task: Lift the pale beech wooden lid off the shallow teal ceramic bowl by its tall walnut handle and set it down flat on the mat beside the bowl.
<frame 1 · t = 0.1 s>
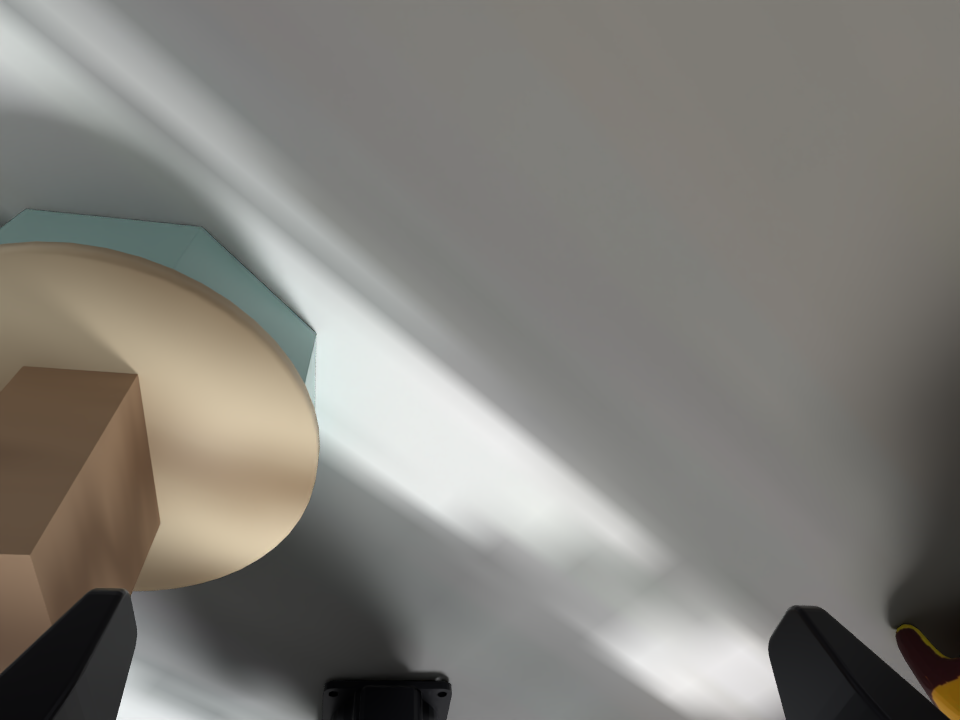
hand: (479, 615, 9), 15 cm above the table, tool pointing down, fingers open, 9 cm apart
bowl: (139, 380, 24), on the table
lid: (107, 434, 21), point 3 cm above the table, touching bowl
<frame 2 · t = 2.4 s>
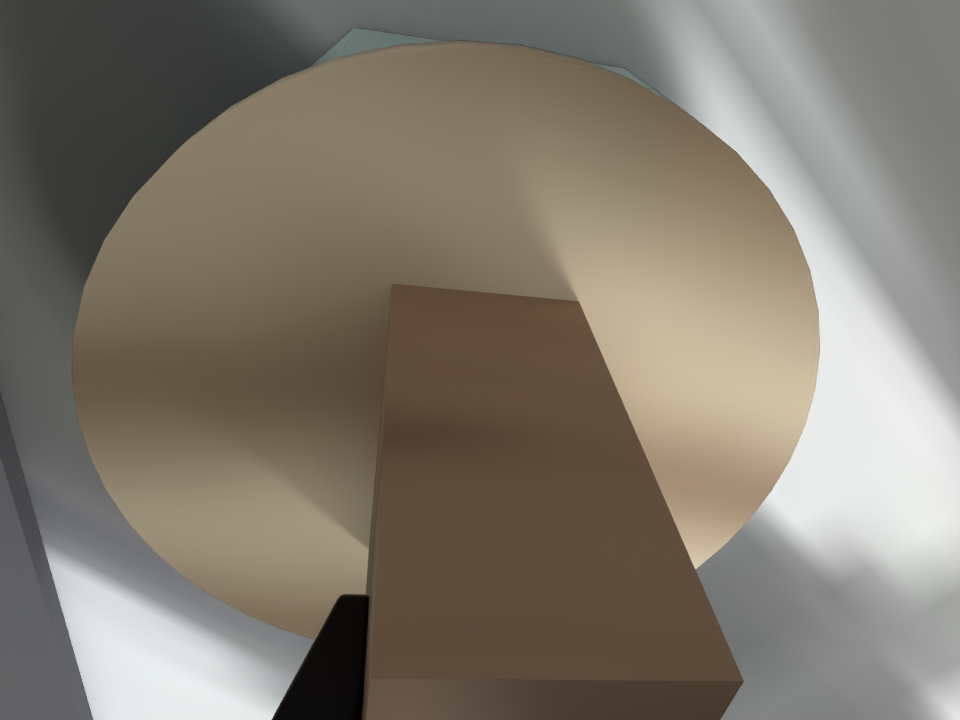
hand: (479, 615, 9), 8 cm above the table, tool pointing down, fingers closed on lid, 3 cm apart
bowl: (451, 332, 15), on the table
lid: (459, 412, 13), point 3 cm above the table, touching bowl, gripper
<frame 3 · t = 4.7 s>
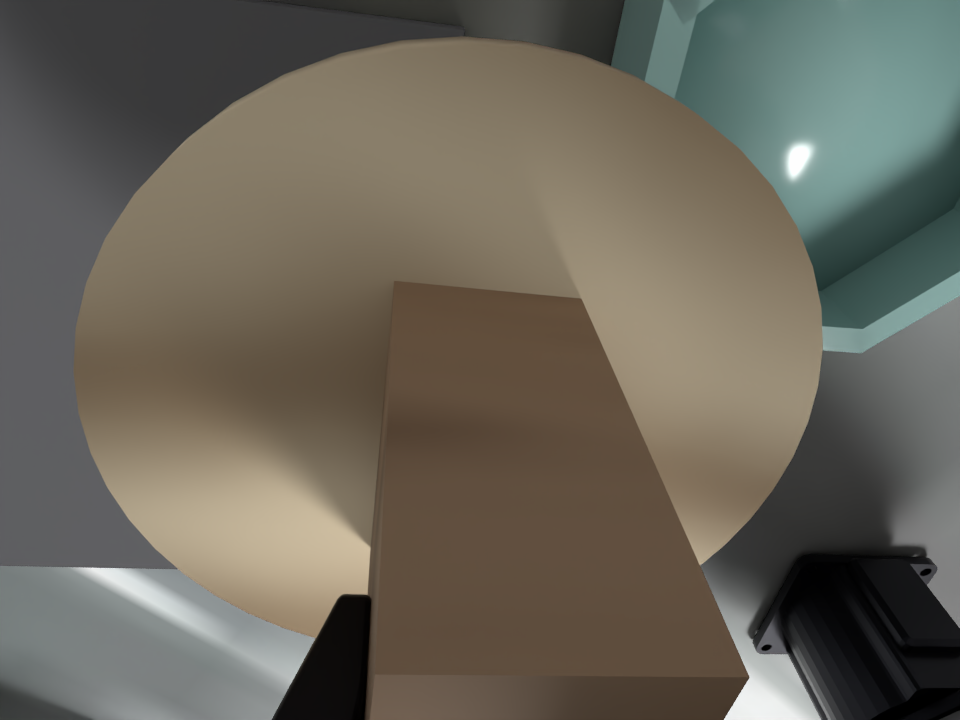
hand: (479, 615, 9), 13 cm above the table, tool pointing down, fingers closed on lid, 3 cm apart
bowl: (811, 111, 19), on the table
mat: (177, 341, 21), on the table
lid: (461, 410, 13), point 9 cm above the table, touching gripper
when the fingers open (6 cm above the table, at t = 7.3 s): lid drops 1 cm, resting on mat.
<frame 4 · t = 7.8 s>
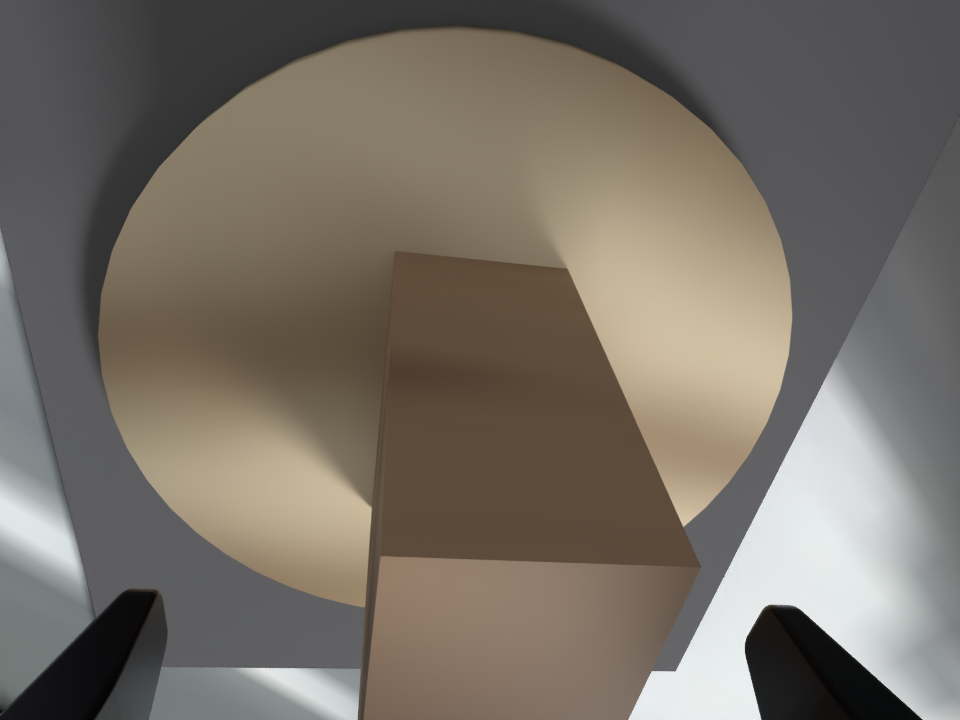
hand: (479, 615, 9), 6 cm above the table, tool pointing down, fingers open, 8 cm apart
mat: (453, 364, 14), on the table
lid: (457, 377, 14), point 1 cm above the table, touching mat
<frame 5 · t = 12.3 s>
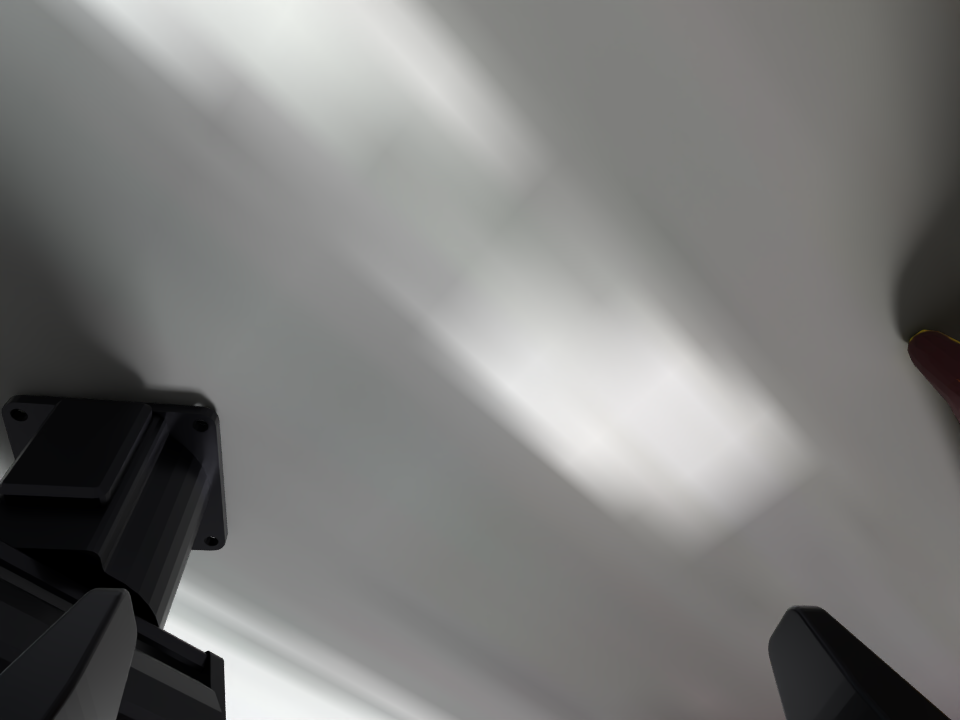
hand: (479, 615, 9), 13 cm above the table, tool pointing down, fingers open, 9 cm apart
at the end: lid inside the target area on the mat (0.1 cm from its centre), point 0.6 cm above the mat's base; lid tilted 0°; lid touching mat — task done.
